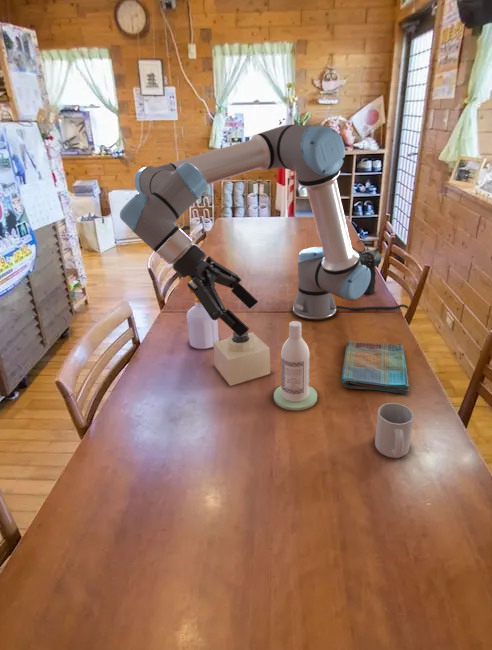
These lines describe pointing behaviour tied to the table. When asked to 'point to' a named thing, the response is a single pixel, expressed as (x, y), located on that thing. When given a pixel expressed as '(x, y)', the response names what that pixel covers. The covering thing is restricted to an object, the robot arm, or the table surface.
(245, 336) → the push button
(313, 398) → the mat
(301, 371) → the bath foam
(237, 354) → the push button box
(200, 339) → the spray bottle
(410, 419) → the cup
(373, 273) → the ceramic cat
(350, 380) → the dish towel
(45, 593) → the table surface
